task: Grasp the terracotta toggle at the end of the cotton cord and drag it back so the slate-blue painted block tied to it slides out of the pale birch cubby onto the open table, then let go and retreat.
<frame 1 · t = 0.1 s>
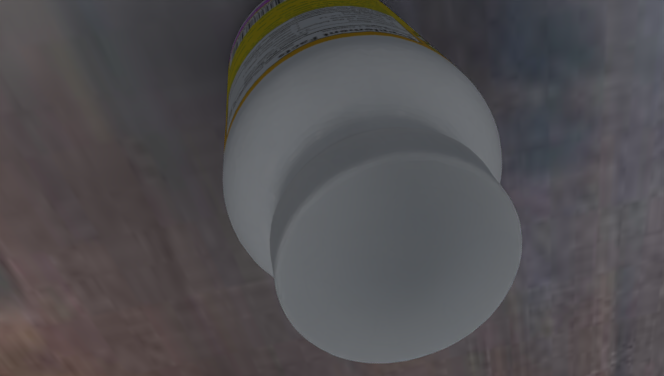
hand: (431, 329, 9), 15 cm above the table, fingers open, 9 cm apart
supplement bottle: (318, 67, 22), on the table
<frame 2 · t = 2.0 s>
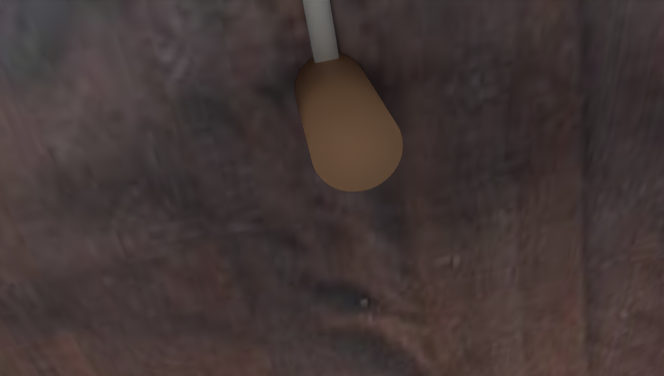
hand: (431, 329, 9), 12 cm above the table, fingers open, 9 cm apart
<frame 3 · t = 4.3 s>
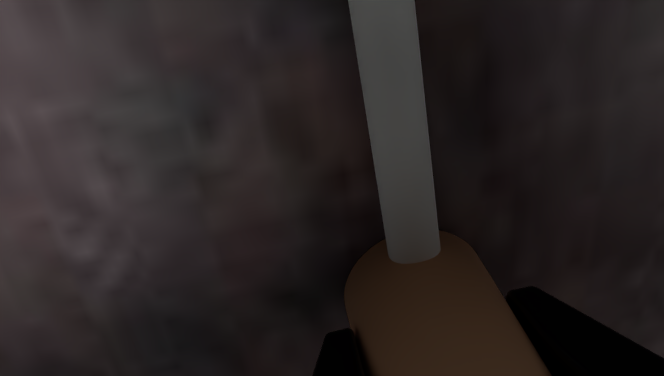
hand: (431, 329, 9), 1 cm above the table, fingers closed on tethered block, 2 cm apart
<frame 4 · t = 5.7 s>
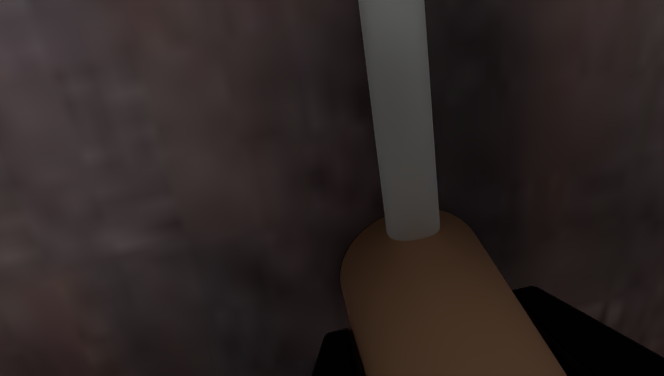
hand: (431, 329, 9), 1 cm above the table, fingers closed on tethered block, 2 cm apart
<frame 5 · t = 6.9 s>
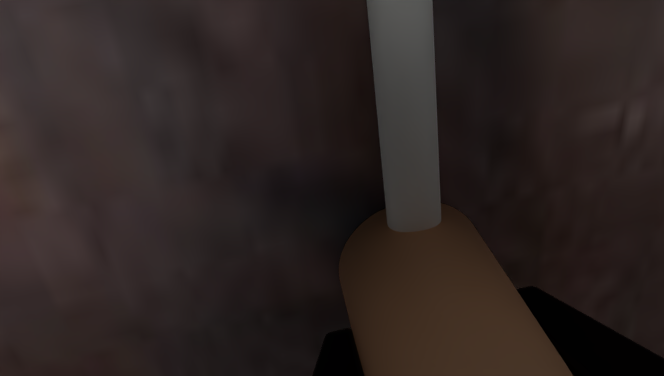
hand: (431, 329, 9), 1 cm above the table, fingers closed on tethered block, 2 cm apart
when the fingers open (1 cm above the table, at t = 7.4 s): tethered block stays where it is, on the table.
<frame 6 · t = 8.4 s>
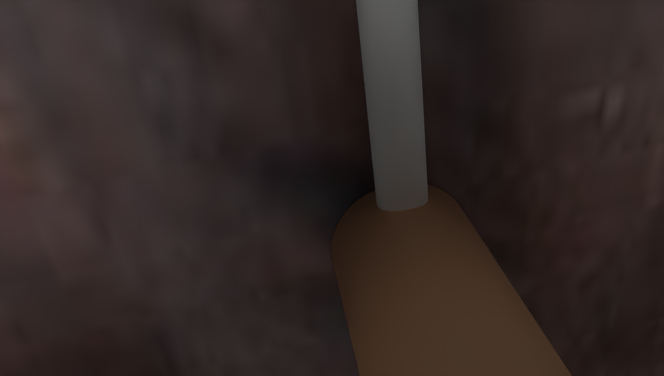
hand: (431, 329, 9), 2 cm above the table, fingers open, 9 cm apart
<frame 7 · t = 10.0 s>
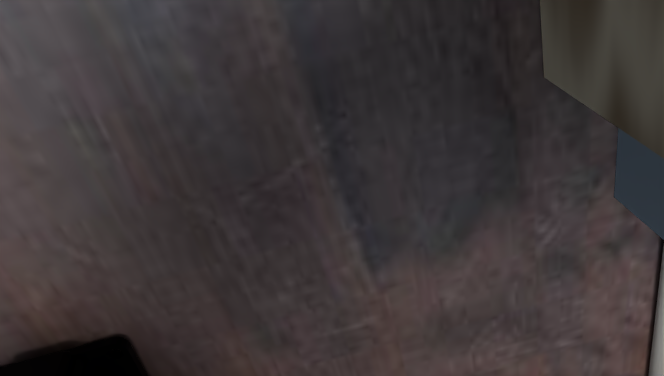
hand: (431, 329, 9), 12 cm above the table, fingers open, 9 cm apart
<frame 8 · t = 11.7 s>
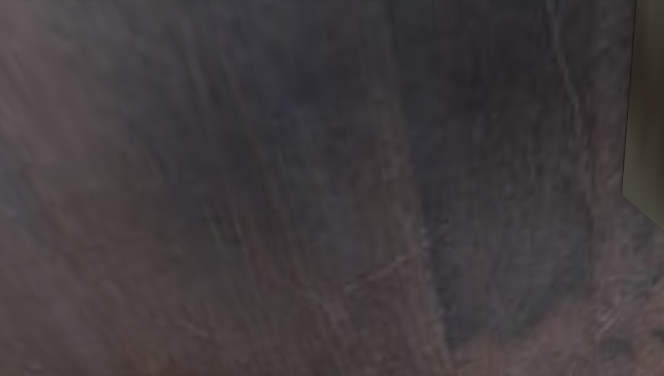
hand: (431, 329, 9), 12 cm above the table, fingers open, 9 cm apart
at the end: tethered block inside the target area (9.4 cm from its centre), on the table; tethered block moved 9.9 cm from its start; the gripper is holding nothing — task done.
